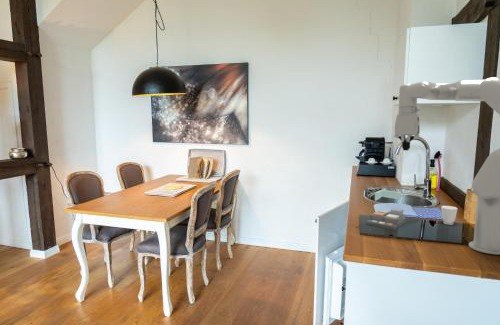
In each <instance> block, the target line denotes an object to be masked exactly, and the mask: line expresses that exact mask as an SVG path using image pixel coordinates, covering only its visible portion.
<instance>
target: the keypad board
mask: <svg viewBox="0 0 500 325" xmlns="http://www.w3.org/2000/svg"><path fill="white" fill-rule="evenodd" d="M390 213H391V211H390ZM390 213H389V214H390ZM389 214H388V215H389ZM386 216H387V215H386ZM386 216H384V217H380V216H374V215H373V213H372V214H371V215H370V219H369V220H366V226H372V227H376V228H381V229H382V228H383V229H388V230H391V231H392V230H393V231H394V230H397V228H399V227H400V226H402V225H404V224H405V223H406V214H404V213H403V216H401V217H399V218H398V219H391V218H386Z"/></svg>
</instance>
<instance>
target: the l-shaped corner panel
mask: <svg viewBox="0 0 500 325" xmlns="http://www.w3.org/2000/svg"><path fill="white" fill-rule="evenodd" d="M381 198H388V199H394V200H401V198H402V192H401V191H393V190H384V189H381V190H378V191H376V192H374V201H378V200H379V199H381Z"/></svg>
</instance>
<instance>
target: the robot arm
mask: <svg viewBox="0 0 500 325" xmlns="http://www.w3.org/2000/svg"><path fill="white" fill-rule="evenodd" d="M418 99H423V100H429V101H456V102H458V101H460V102H462V101H463V102H485V103H486V104H487V105H488V106H489V107H490V108H491V109H492V110H494V112H495V113H496V114H498V115H499V116H500V77H497V76H493V77H492V76H491V77H488V78H485V79H461V80H459V81H456V82H446V83H444V82H443V83H442V82H441V83H439V82H437V83H435V82H431V81H426V80H424V81H419V82H415V83H405V84H402V85H400V87H399V96H398V114H397V115H396V116H395V117H396V118H395V124H394V135H393V137H394V138H396V139H399V140H400V142H402V146H401V149H402V150H403V151H409V150H410V148H411V142H412V141H413V140H414V139H418V138H420V133H421V132H420V130H421V126H420V115H419V113H418V112H420V111H421V108H420V107H417V105H418ZM406 136H407V138H406ZM471 188H472V191H473V193H474V194H475V195H476V196H477V199H476V206H475V220H474V221H475V222H474V232H473V240H472V241H470V242H468V247H469V248H470V249H472V250H474V251H476V252H479V253H484V254H489V255H498V256H499V255H500V148H497V149H495V150H493V151H492V152H491V153H490V154H489V155H488V156H487V158H486V159H485V161H484V162H483V164H482V165H481V167H480V169H479V170H478V172H477V174H476V175H475V177H474V179H473V180H472V183H471Z"/></svg>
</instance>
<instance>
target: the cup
mask: <svg viewBox="0 0 500 325" xmlns="http://www.w3.org/2000/svg"><path fill="white" fill-rule="evenodd" d="M440 209H441V217H442V221H443V222H442V223H443V224H444V225H451V226H452V225H454V222H455V221H456V218H457V214H458V213H457V212H458V208H457V207H456V206H451V205H441V206H440Z"/></svg>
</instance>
